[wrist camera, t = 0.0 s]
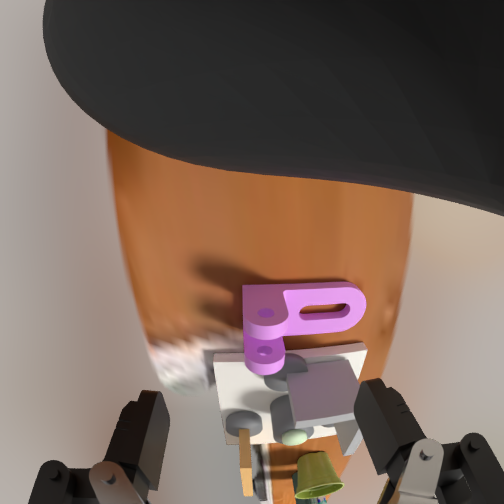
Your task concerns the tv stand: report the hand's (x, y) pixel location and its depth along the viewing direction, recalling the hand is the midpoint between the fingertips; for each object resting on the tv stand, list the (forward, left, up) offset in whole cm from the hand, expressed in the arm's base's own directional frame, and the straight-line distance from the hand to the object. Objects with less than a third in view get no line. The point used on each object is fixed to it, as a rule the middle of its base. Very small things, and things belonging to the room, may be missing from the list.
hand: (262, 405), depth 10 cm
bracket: (+7, +6, -18) cm, 20 cm away
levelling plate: (+23, +5, -17) cm, 29 cm away
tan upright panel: (+30, -1, -16) cm, 34 cm away
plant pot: (+45, +12, -17) cm, 49 cm away
